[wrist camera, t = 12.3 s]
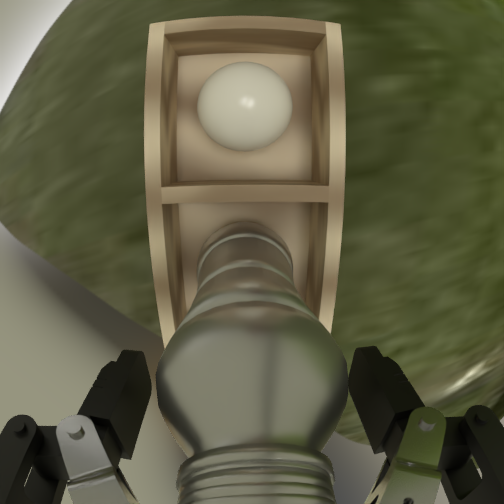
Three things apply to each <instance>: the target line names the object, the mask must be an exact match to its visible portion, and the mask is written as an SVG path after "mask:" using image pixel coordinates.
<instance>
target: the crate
mask: <svg viewBox="0 0 504 504" xmlns="http://www.w3.org/2000/svg"><path fill="white" fill-rule="evenodd" d="M236 62H254V63H259V64H262V65H264V66H267V67H269V68H270V69H272V70H274V71H275V72H276V73H278V74H279V75H280V76H281V77H282V78H283V80H284V81H285V83H286V84H287V86H288V88H289V90H290V93H291V97H292V103H293V111H292V116H291V120H290V123H289V125H288V127H287V128H286V130H285V131H284V133H283V134H282V135H281V136H280V137H279V138H278V139H277V140H276V141H275V142H273V143H272V144H270V145H269V146H267V147H264V148H262V149H259V150H255V151H246V152H244V151H235V150H231V149H227V148H225V147H223V146H221V145H219V144H217V143H216V142H215V141H213V140H212V139H211V138H210V137H209V136H208V135H207V134H206V132H205V131H204V129H203V127H202V125H201V124H200V121H199V118H198V113H197V101H198V96H199V93H200V90H201V88H202V86H203V84H204V83H205V81H206V80H207V79H208V78H209V77H210V76H211V74H213V73H214V72H215V71H216V70H218V69H220V68H221V67H224V66H226V65H228V64H232V63H236ZM345 155H346V114H345V81H344V63H343V48H342V36H341V26H340V24H337V23H330V22H324V21H316V20H308V19H299V18H287V17H271V16H218V17H202V18H190V19H181V20H173V21H165V22H159V23H153V24H150V29H149V39H148V50H147V63H146V80H145V106H144V159H145V186H146V204H147V218H148V231H149V242H150V252H151V261H152V270H153V278H154V286H155V293H156V300H157V307H158V313H159V319H160V325H161V331H162V337H163V342H164V348H166V346H167V344H168V343H169V341H170V339H171V337H172V336H173V334H174V333H175V332H176V330H177V328H178V327H179V325H180V324H181V322H182V321H183V319H184V318H185V316H186V315H187V313H188V311H189V310H190V307H191V305H192V303H193V300H194V298H195V296H196V293H197V287H198V281H197V259H198V256H199V252H200V250H201V248H202V246H203V245H204V243H205V242H206V241H207V239H208V238H209V237H210V236H211V235H212V234H214V233H215V232H216V231H218V230H219V229H221V228H223V227H225V226H227V225H229V224H233V223H237V222H252V223H257V224H260V225H263V226H265V227H267V228H269V229H271V230H273V231H274V232H276V233H277V234H278V235H279V236H280V237H281V238H282V239H283V240H284V242H285V243H286V244H287V246H288V248H289V250H290V252H291V257H292V261H293V280H294V284H295V287H296V289H297V291H298V292H299V294H300V296H301V297H302V299H303V301H304V303H305V304H306V305H307V307H308V308H309V309H310V310H311V311H312V312H313V314H314V315H315V316H316V317H317V318H318V320H319V321H320V322H321V323H322V324H323V325H324V326H325V328H326V329H327V330H328V331H329V333H330V334H331V327H332V320H333V313H334V306H335V298H336V289H337V281H338V271H339V261H340V250H341V238H342V225H343V209H344V189H345Z"/></svg>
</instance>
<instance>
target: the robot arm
mask: <svg viewBox="0 0 504 504" xmlns="http://www.w3.org/2000/svg"><path fill="white" fill-rule="evenodd" d="M348 388H349V392H350V395H351V397H352V400H353V402H354V405H355V407H356V409H357V412H358V414H359V417H360V419H361V422H362V424H363V427H364V429H365V432H366V434H367V437H368V439H369V442H370V444H371V447H372V449H373V452H374V454H377V453H381V452H385V453H386V456H387V457H386V459H385V461H384V463H383V466H382V468H381V470H380V473H379V475H378V477H377V479H376V481H375V483H374V486H373V487H372V489H371V491H370V494H369V495H368V498H367V499H366V501H365V503H364V504H434V502H435V499H436V495H437V492H438V488H439V484H440V481H441V483H442V485H443V488H444V490H445V493H446V495H447V498H448V500H449V503H450V504H504V427H503V425H502V424H501V422H500V421H499V419H498V418H497V416H496V415H495V414H494V412H493V411H492V410H491V409H489V408H488V407H486V406H482V405H475V406H472V407H470V408H469V409H468V410H467V412H466V414H465V415H464V416H463V417H444V415H443V414H442V413H441V412H440V411H439V410H437V409H435V408H432V407H425V405H424V404H423V402H422V401H421V399H420V397H419V396H418V394H417V393H416V391H415V390H414V388H413V387H412V385H411V383H410V382H409V381H408V379H407V377H406V376H405V374H403V371H402V370H401V368H400V367H399V365H398V364H397V363H396V362H395V361H393V360H392V359H390V358H389V357H383V356H382V354H381V353H380V351H379V350H378V348H377V347H376V346H369V347H361V348H356V350H355V352H354V356H353V361H352V365H351V369H350V373H349V377H348ZM151 390H152V386H151V379H150V375H149V371H148V367H147V364H146V360H145V356H144V353H143V352H142V351H133V350H123V351H122V352H121V354H120V356H119V358H118V359H117V361H116V362H114V361H111V362H109V363H108V364H107V365H106V366H104V367H103V368H102V369H101V371H100V373H99V375H98V377H97V380H95V382H94V384H93V387H92V388H91V389H90V391H89V393H88V395H87V397H86V398H85V400H84V402H83V404H82V406H81V408H80V410H79V412H78V414H77V415H71V416H68V417H66V418H64V419H63V420H62V421H61V422H60V423H59V424H58V426H38V425H37V424H36V422H35V421H34V419H33V418H31V417H30V416H28V415H17V416H15V417H13V418H11V419H10V420H9V421H8V422H7V424H6V426H5V427H4V429H3V431H2V433H1V434H0V504H61V501H62V497H63V494H64V490H65V487H66V484H67V487H68V491H69V493H70V496H71V499H72V501H73V504H140V503H139V501H138V500H137V498H136V496H135V495H134V493H133V491H132V489H131V488H130V486H129V484H128V482H127V481H126V479H125V477H124V475H123V473H122V471H121V470H120V468H119V466H118V464H119V462H120V458H124V459H130V460H131V458H132V455H133V451H134V448H135V444H136V441H137V438H138V434H139V431H140V428H141V424H142V421H143V418H144V415H145V412H146V409H147V405H148V402H149V399H150V396H151ZM473 456H474V458H475V460H476V462H477V464H478V466H479V468H480V470H481V472H482V479H481V477H480V475H479V473H478V471H477V469H476V467H475V465H474V463H473V461H472V459H471V458H472V457H473ZM31 467H32V469H31ZM30 469H31V472H30ZM29 472H30V474H29ZM28 474H29V477H28ZM27 477H28V480H27V482H26V479H27ZM68 480H70V482H67V481H68ZM25 482H26V485H25ZM24 485H25V487H24Z"/></svg>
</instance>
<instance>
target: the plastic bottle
mask: <svg viewBox="0 0 504 504" xmlns="http://www.w3.org/2000/svg"><path fill="white" fill-rule="evenodd" d="M197 281H198V287H197V293H196V296H195V298H194V300H193V303H192V305H191V307H190V310H189V311H188V313H187V315H186V316H185V318H184V319H183V321H182V322H181V324H180V325H179V327H178V328H177V330H176V332H175V333H174V334H173V336H172V337H171V339H170V341H169V343H168V344H167V346H166V348H165V350H164V352H163V355H162V357H161V359H160V361H159V363H158V368H157V372H156V389H157V396H158V397H157V398H158V406H159V409H160V411H161V414H162V417H163V419H164V421H165V423H166V425H167V427H168V428H169V430H170V432H171V434H172V436H173V438H174V439H175V441H176V442H177V443H178V444H179V446H180V447H181V449H182V450H183V451H184V453H185V454H186V455H187V456H188V459H186V460H185V461H184V462H183V463H182V464H181V466H180V468H179V470H178V475H177V481H176V488H177V490H178V492H179V496H178V501H177V504H336V500H335V495H334V491H333V484H334V482H335V477H334V471H333V467H332V463H331V461H330V460H329V458H328V457H327V456H326V455H324V454H323V453H321V451H322V450H323V448H324V447H325V445H326V444H327V442H328V441H329V439H330V438H331V436H332V434H333V432H334V431H335V429H336V427H337V425H338V422H339V420H340V418H341V416H342V413H343V411H344V409H345V406H346V402H347V397H348V373H347V363H346V360H345V358H344V355H343V353H342V351H341V349H340V347H339V346H338V344H337V343H336V341H335V340H334V338H333V336H332V335H331V334H330V333H329V331H328V330H327V329H326V328H325V326H324V325H323V324H322V323H321V322H320V321H319V320H318V318H317V317H316V316H315V315H314V314H313V312H312V311H311V310H310V309H309V308H308V307H307V305H306V304H305V303H304V301H303V299H302V297H301V296H300V294H299V292H298V291H297V289H296V287H295V284H294V280H293V261H292V257H291V252H290V250H289V248H288V246H287V244H286V243H285V242H284V240H283V239H282V238H281V237H280V236H279V235H278V234H277V233H276V232H274V231H273V230H271V229H269V228H267V227H265V226H263V225H260V224H257V223H252V222H237V223H233V224H229V225H227V226H225V227H223V228H221V229H219V230H218V231H216V232H215V233H214V234H212V235H211V236H210V237H209V238H208V239H207V241H206V242H205V243H204V245H203V246H202V248H201V250H200V252H199V256H198V259H197Z"/></svg>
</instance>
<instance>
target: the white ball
mask: <svg viewBox="0 0 504 504" xmlns="http://www.w3.org/2000/svg"><path fill="white" fill-rule="evenodd" d="M292 111H293V103H292V97H291V93H290V90H289V88H288V86H287V84H286V83H285V81H284V80H283V78H282V77H281V76H280V75H279V74H278V73H276V72H275V71H274V70H272V69H270V68H269V67H267V66H264V65H262V64H259V63H254V62H236V63H232V64H228V65H226V66H224V67H221V68H220V69H218V70H216V71H215V72H214V73H213V74H211V76H210V77H209V78H208V79H207V80H206V81H205V83H204V84H203V86H202V88H201V90H200V93H199V96H198V101H197V113H198V118H199V121H200V124H201V125H202V127H203V129H204V131H205V132H206V134H207V135H208V136H209V137H210V138H211V139H212V140H213V141H215V142H216V143H217V144H219V145H221V146H223V147H225V148H227V149H231V150H235V151H244V152H246V151H255V150H259V149H262V148H264V147H267V146H269V145H270V144H272V143H273V142H275V141H276V140H277V139H278V138H279V137H280V136H281V135H282V134H283V133H284V131H285V130H286V128H287V127H288V125H289V123H290V120H291V116H292Z"/></svg>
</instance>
